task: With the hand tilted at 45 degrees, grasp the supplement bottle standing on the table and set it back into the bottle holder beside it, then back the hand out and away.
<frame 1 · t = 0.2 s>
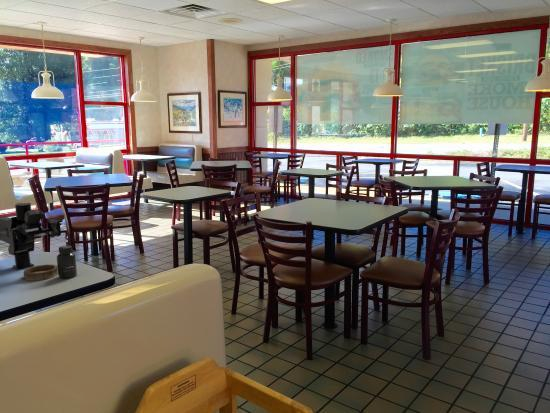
hand: (46, 236, 182), 17 cm above the table, tool horizontal, fingers open, 9 cm apart
supplement bottle: (68, 276, 185), on the table
bottle holder: (41, 275, 187), on the table
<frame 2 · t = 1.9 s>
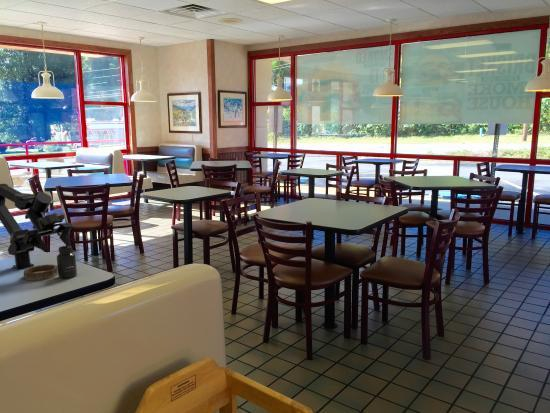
hand: (59, 249, 186), 11 cm above the table, tool tilted 45°, fingers open, 9 cm apart
nothing on the table moved.
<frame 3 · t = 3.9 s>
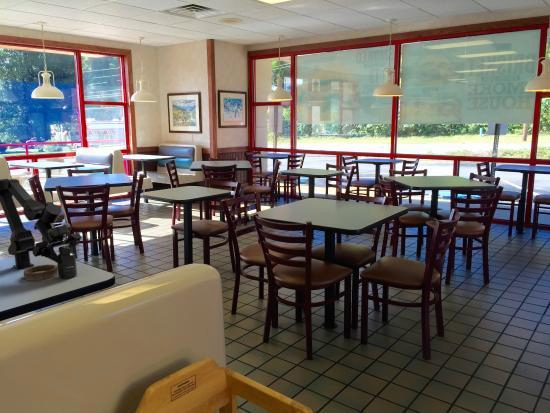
hand: (68, 260, 184), 7 cm above the table, tool tilted 45°, fingers closed on supplement bottle, 7 cm apart
supplement bottle: (68, 276, 185), on the table, touching gripper
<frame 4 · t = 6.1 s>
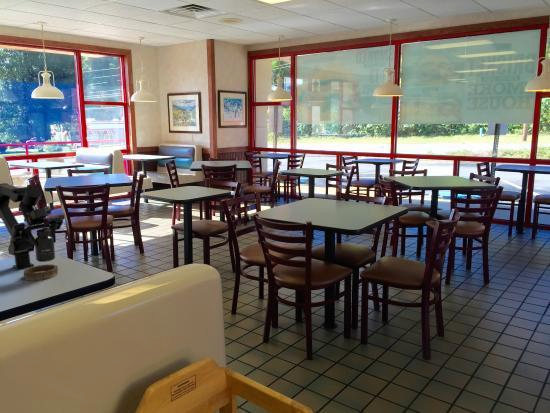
hand: (46, 244, 183), 13 cm above the table, tool tilted 45°, fingers closed on supplement bottle, 7 cm apart
supplement bottle: (46, 260, 186), point 7 cm above the table, touching gripper
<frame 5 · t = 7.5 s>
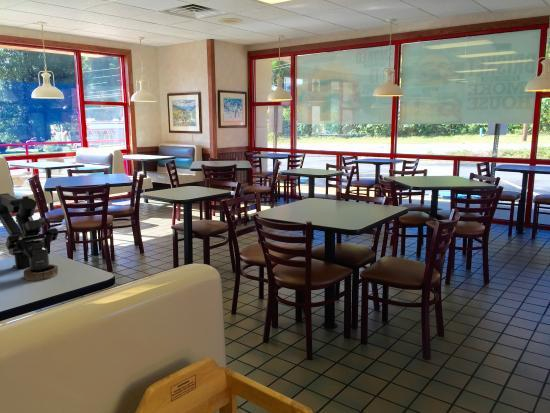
hand: (40, 255, 185), 9 cm above the table, tool tilted 45°, fingers closed on supplement bottle, 7 cm apart
supplement bottle: (40, 270, 187), point 2 cm above the table, touching gripper
when the fingers open (9 cm above the table, at t = 8.4 s): supplement bottle drops 1 cm, resting on bottle holder.
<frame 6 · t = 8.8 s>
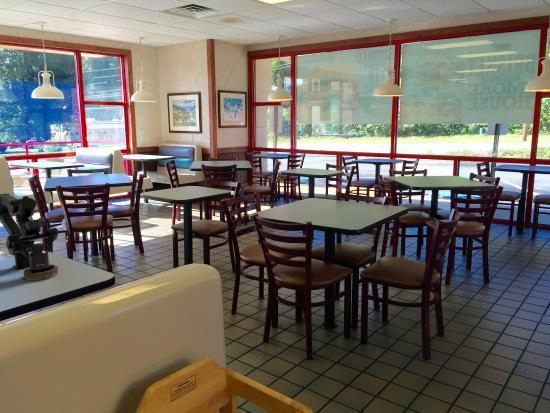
hand: (40, 254, 185), 9 cm above the table, tool tilted 45°, fingers open, 9 cm apart
supplement bottle: (41, 274, 187), point 1 cm above the table, touching bottle holder
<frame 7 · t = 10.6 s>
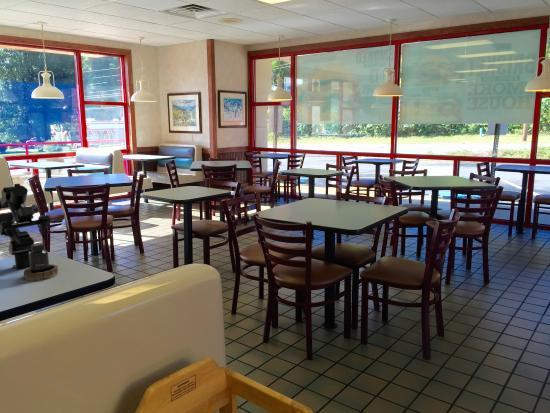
hand: (33, 241, 188), 14 cm above the table, tool tilted 45°, fingers open, 9 cm apart
nothing on the table moved.
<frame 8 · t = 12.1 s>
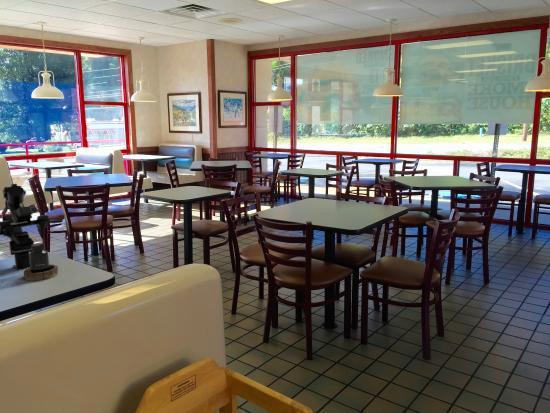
hand: (31, 240, 189), 14 cm above the table, tool tilted 45°, fingers open, 9 cm apart
nothing on the table moved.
at the end: supplement bottle 0.2 cm from the bottle holder (horizontally); supplement bottle tilted 0°; the gripper is holding nothing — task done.
